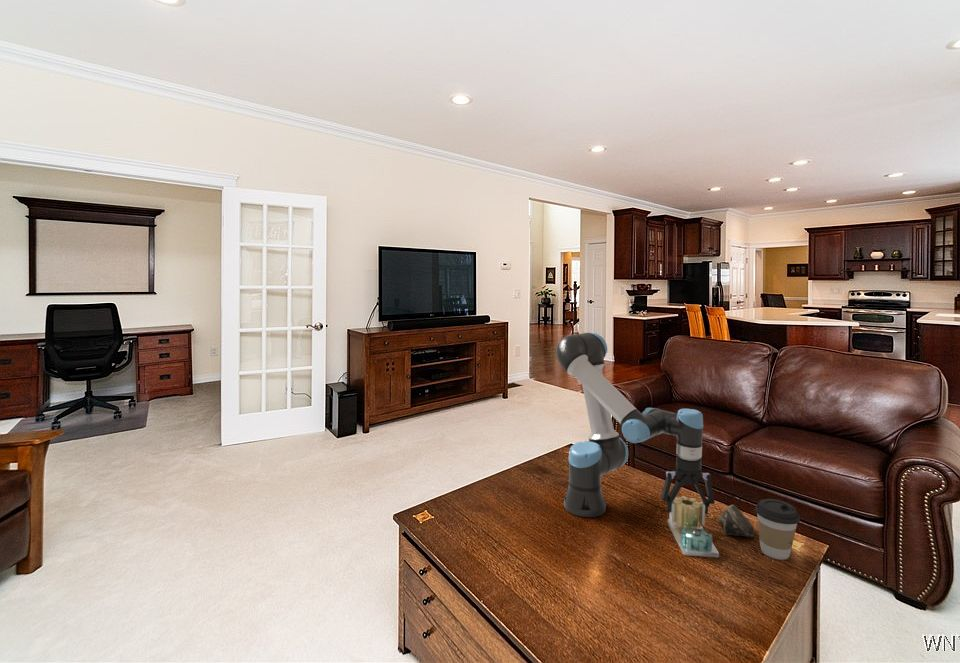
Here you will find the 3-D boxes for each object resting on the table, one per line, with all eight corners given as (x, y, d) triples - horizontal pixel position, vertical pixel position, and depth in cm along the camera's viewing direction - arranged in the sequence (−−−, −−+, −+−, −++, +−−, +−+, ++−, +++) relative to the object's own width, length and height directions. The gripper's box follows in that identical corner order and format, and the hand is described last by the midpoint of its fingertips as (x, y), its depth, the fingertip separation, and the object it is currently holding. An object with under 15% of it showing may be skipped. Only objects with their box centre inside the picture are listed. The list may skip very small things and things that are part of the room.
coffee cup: (799, 569, 125) (802, 519, 123) (753, 556, 131) (755, 509, 129) (796, 548, 134) (799, 502, 133) (752, 537, 140) (755, 493, 139)
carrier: (683, 555, 132) (684, 535, 131) (667, 523, 150) (667, 505, 149) (718, 557, 131) (719, 537, 130) (698, 525, 148) (698, 507, 148)
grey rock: (762, 541, 137) (747, 514, 137) (733, 551, 140) (718, 524, 140) (750, 522, 148) (736, 497, 148) (723, 531, 150) (709, 506, 150)
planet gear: (667, 520, 146) (667, 501, 145) (681, 512, 151) (682, 493, 150) (692, 532, 139) (693, 512, 138) (706, 523, 144) (707, 503, 143)
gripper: (657, 459, 140) (655, 525, 143) (728, 462, 137) (725, 529, 139) (651, 450, 148) (650, 513, 150) (719, 453, 144) (716, 517, 147)
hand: (686, 521), depth 145 cm, fingers closed on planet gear, 9 cm apart
